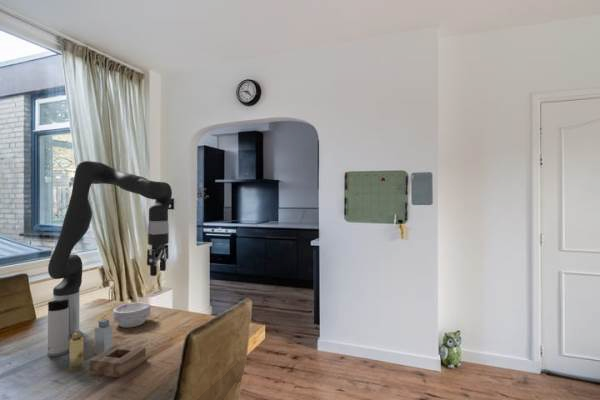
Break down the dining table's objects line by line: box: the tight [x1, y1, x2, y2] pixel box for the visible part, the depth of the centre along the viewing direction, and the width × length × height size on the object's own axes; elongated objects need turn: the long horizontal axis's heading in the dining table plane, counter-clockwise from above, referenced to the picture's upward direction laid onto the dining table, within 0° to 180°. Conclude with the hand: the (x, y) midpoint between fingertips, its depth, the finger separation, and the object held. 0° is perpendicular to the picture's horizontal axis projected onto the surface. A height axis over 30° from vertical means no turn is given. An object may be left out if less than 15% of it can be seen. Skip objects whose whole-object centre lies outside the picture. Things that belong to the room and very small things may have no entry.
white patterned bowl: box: [112, 301, 151, 328], centre depth 153 cm, size 15×15×8 cm
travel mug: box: [47, 299, 70, 358], centre depth 124 cm, size 6×7×20 cm
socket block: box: [89, 344, 147, 378], centre depth 114 cm, size 12×12×4 cm
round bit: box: [68, 331, 85, 372], centre depth 113 cm, size 4×4×12 cm
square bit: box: [94, 318, 114, 356], centre depth 125 cm, size 4×4×12 cm
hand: (158, 273), depth 132 cm, fingers open, 8 cm apart
